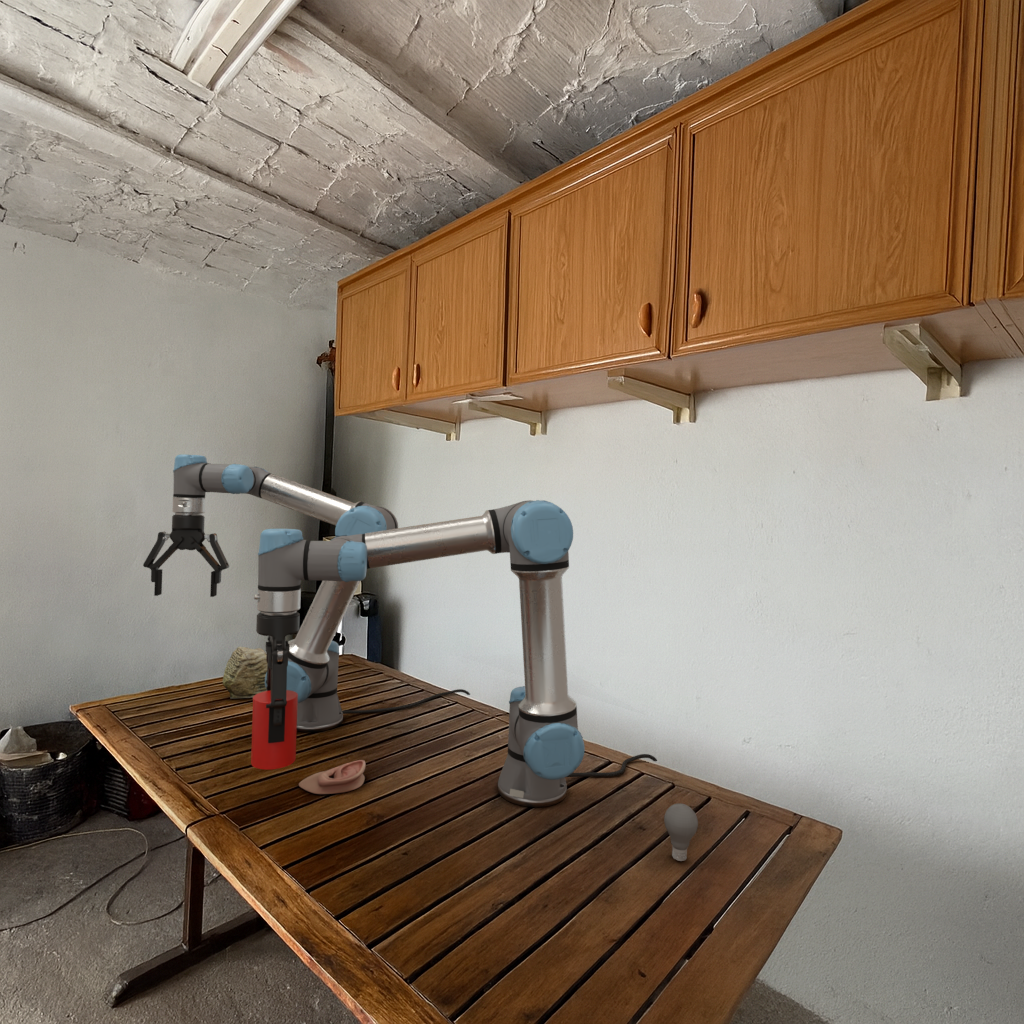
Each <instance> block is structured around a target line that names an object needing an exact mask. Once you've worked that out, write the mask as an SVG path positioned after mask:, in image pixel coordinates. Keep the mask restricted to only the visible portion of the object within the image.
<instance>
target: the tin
mask: <svg viewBox="0 0 1024 1024" xmlns="http://www.w3.org/2000/svg"><path fill="white" fill-rule="evenodd" d="M277 700H281V699H277ZM286 701H287V705H286V706H285V735H284V742H275V743H268V729H269V708H266V704H270V702H271V690H270V691H264V692H261V693H258V694H256V695H255V696H254V697H252V716H251V717H252V719H251V721H252V722H251V746H250V748H251V751H250V752H251V753H250V765H251V766H252V768H255V769H258V770H263V771H265V770H269V771H270V770H271V771H272V770H277V769H283V768H285V767H289V766H290V765H292V764H293V763H295V762H296V760H297V735H298V734H297V733H298V731H297V704H298V694H297V693H296V692H294V691H290V690H287V692H286Z"/></svg>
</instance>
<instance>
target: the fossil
mask: <svg viewBox="0 0 1024 1024" xmlns="http://www.w3.org/2000/svg"><path fill="white" fill-rule="evenodd" d="M266 654H267V653H266V651H265V650H264V649H263V648H260V647H258V648H251V647H247V646H246V647H245V646H238V647H237V648H236V649H235V650H233V651H232V653H231V656H230V657H229V659H228V660H227V663H226V666H225V668H224V671H223V675H222V676H223V677H222V685H223V687H224V688H225V690H226V691H228V693H229V698H230V699H250V698H252V699H253V697H254V696H255V695H256V694H258V693H261V692H264V691H267V689H266V687H265V676H266V673H267V661H266Z"/></svg>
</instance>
